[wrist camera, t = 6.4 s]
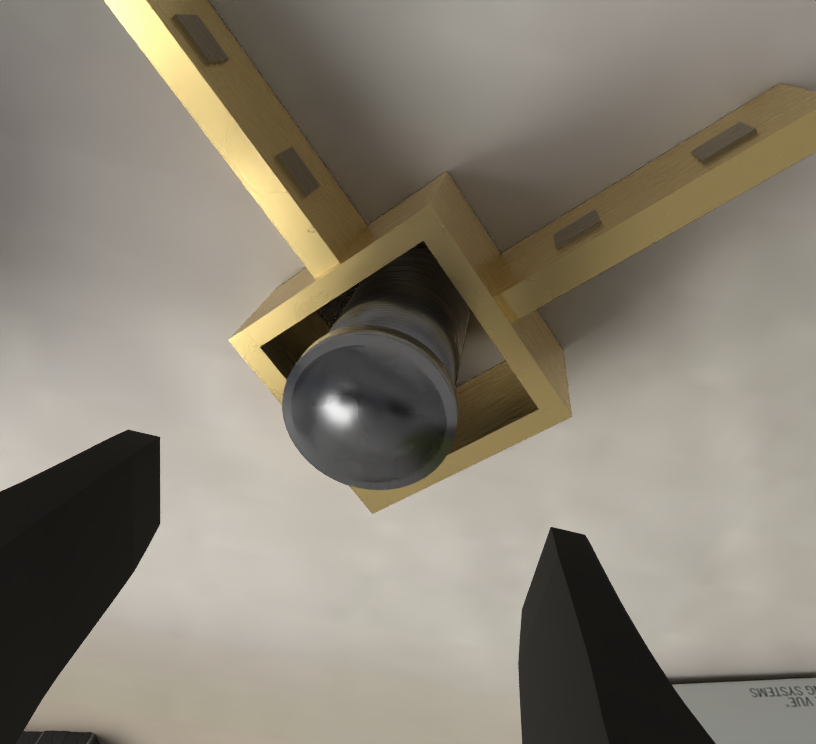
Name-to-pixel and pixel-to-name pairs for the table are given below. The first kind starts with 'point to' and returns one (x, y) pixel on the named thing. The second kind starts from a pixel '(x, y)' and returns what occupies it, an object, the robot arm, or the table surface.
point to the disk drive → (57, 738)
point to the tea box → (754, 710)
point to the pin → (383, 379)
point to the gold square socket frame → (445, 226)
